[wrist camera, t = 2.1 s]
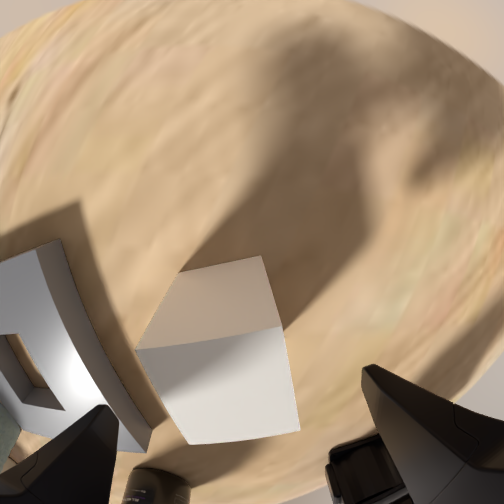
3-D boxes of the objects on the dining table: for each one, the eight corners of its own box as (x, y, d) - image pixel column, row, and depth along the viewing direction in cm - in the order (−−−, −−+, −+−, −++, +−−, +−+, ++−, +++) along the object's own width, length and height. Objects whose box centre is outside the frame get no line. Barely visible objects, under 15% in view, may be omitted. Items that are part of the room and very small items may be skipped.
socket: (60, 238, 13) (35, 249, 11) (152, 430, 17) (146, 453, 15) (-40, 279, 13) (-57, 288, 11) (32, 415, 17) (23, 430, 15)
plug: (261, 255, 14) (281, 325, 7) (277, 336, 15) (300, 430, 9) (178, 272, 14) (134, 349, 7) (204, 350, 15) (189, 444, 9)
